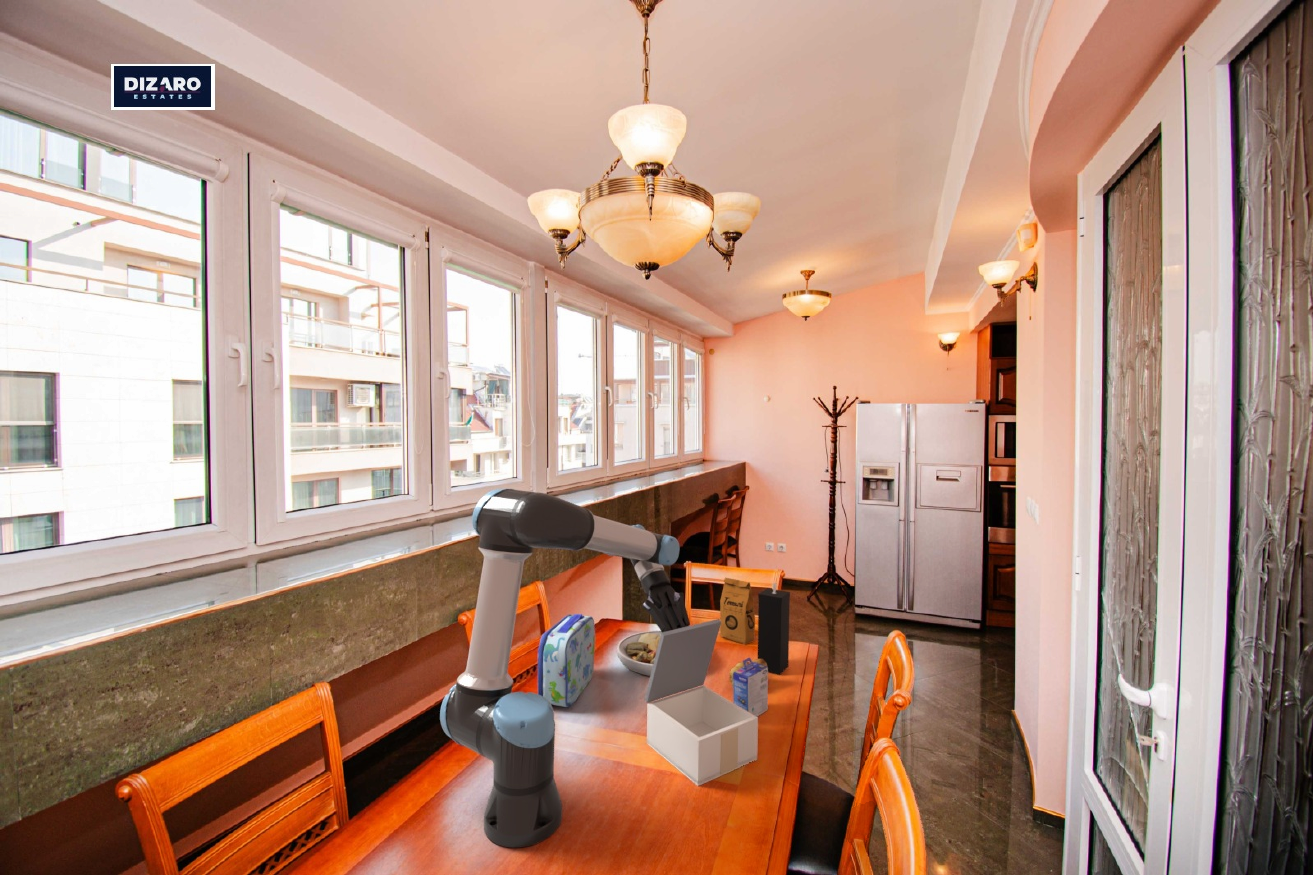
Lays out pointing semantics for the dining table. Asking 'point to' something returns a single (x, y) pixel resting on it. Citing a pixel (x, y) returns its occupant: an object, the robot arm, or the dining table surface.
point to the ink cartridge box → (751, 687)
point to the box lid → (682, 659)
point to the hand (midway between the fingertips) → (689, 655)
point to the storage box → (702, 733)
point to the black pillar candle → (774, 629)
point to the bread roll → (740, 665)
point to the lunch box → (566, 659)
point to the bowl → (639, 651)
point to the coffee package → (737, 611)
